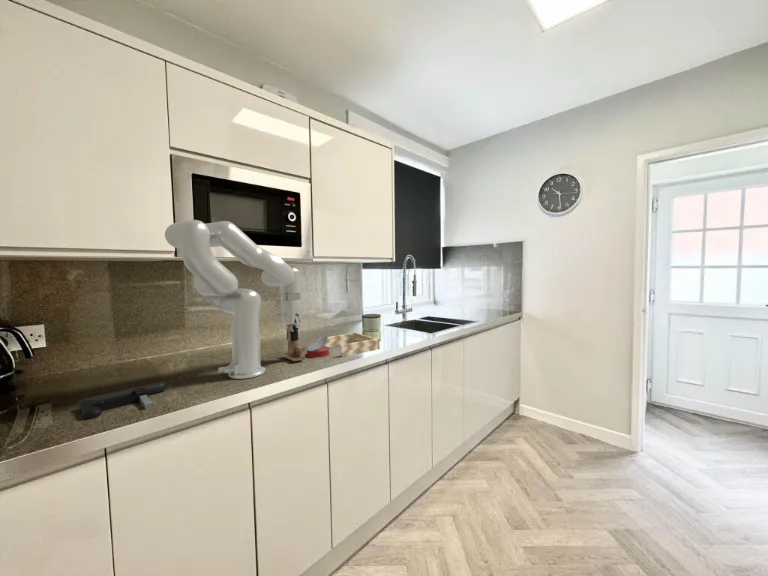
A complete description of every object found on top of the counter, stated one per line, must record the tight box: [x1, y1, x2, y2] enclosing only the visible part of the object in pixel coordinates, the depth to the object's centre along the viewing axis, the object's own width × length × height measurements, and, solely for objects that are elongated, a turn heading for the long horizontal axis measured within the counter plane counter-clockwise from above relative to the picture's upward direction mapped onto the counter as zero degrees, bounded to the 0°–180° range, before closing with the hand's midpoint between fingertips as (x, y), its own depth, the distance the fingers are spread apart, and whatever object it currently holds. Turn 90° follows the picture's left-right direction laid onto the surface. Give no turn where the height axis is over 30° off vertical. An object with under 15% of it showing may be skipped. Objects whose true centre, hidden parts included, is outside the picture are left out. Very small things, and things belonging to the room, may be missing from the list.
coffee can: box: [361, 313, 382, 342], centre depth 173 cm, size 10×10×14 cm
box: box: [318, 332, 381, 357], centre depth 156 cm, size 21×21×5 cm
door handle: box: [78, 381, 167, 420], centre depth 92 cm, size 3×20×16 cm
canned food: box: [306, 335, 330, 358], centre depth 145 cm, size 11×10×10 cm
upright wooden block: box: [281, 325, 306, 362], centre depth 137 cm, size 5×12×14 cm, turn 40°
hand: (292, 339), depth 137 cm, fingers closed on upright wooden block, 3 cm apart
